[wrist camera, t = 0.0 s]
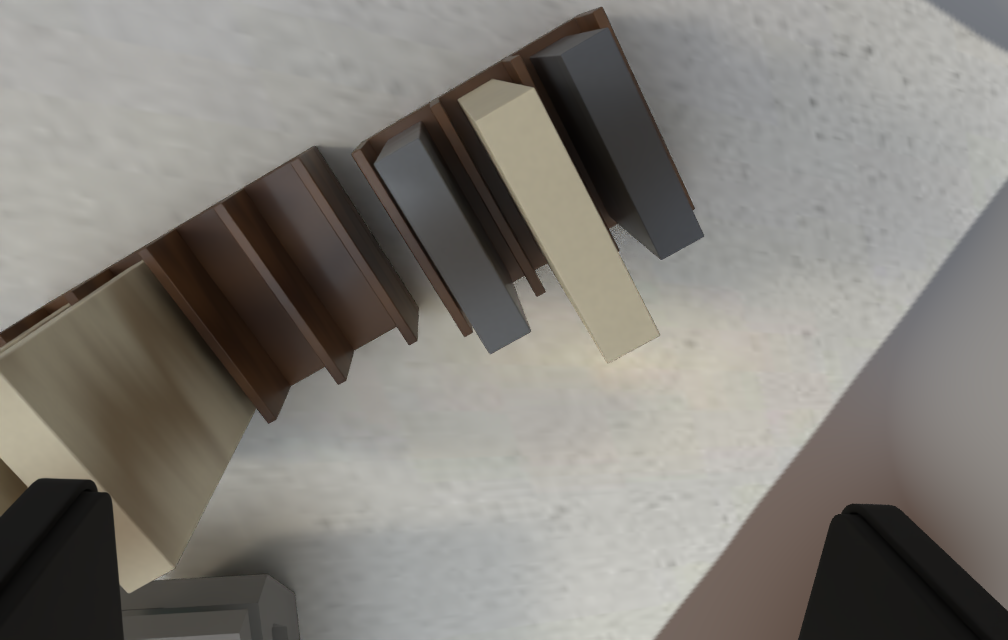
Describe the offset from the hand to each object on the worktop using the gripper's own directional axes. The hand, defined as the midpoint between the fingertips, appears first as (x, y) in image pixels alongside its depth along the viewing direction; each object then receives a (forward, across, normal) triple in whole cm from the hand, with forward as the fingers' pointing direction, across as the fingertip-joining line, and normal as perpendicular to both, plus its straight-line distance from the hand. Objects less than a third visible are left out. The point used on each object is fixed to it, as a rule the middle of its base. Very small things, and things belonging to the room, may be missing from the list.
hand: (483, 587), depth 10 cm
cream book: (+29, -4, -2) cm, 30 cm away
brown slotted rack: (+30, -4, -2) cm, 31 cm away
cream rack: (+30, +10, +7) cm, 33 cm away
